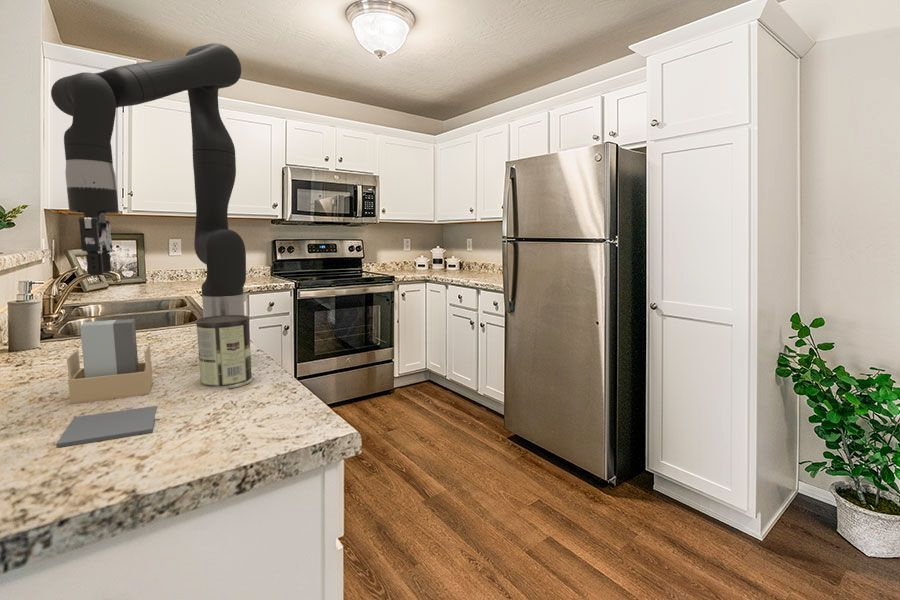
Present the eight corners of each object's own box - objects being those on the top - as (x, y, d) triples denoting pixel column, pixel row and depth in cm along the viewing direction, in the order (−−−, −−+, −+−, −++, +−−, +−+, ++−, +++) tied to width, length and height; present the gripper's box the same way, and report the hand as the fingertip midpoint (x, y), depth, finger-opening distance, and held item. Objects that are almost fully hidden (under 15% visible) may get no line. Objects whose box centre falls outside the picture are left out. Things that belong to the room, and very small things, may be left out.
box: (139, 385, 97) (134, 318, 95) (137, 392, 92) (131, 322, 91) (91, 391, 93) (85, 321, 91) (86, 398, 89) (80, 325, 87)
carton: (152, 384, 100) (149, 342, 99) (149, 396, 92) (145, 352, 91) (81, 392, 94) (77, 348, 93) (70, 407, 86) (65, 359, 85)
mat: (157, 408, 85) (157, 405, 85) (152, 432, 75) (152, 428, 75) (74, 420, 80) (74, 417, 79) (56, 447, 69) (56, 443, 69)
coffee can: (226, 374, 108) (223, 313, 106) (262, 378, 105) (259, 316, 103) (188, 386, 98) (183, 320, 96) (226, 392, 95) (223, 323, 93)
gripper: (110, 184, 83) (118, 275, 86) (122, 191, 96) (129, 270, 98) (56, 182, 80) (66, 276, 82) (76, 189, 93) (84, 271, 95)
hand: (100, 273), depth 90 cm, fingers open, 8 cm apart
